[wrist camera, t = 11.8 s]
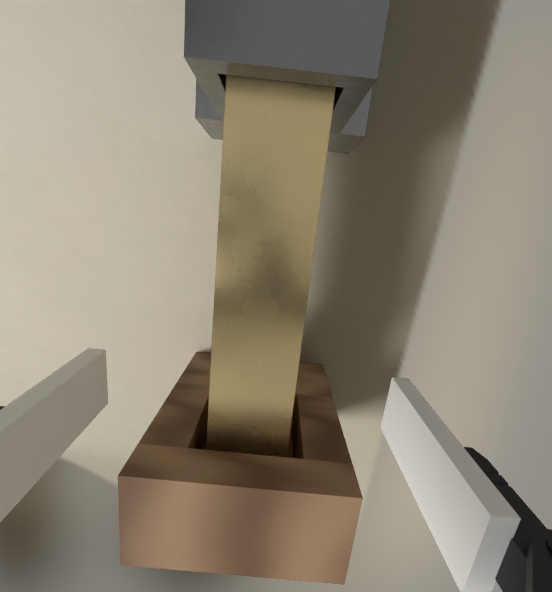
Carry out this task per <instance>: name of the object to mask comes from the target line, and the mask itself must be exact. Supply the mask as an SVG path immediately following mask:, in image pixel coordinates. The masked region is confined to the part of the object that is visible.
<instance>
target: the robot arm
mask: <svg viewBox="0 0 552 592" xmlns="http://www.w3.org/2000/svg"><path fill="white" fill-rule="evenodd" d="M107 404H108V390H107V369H106V350H101V349H91V348H88V349H87V350H85V351H84V352H82V353H81V354H80V355H78V356H77V357H75V358H74V359H72V360H71V361H70V362H68V363H67V364H65V365H64V366H62V367H61V368H60V369H58V370H57V371H55V372H54V373H53V374H51V375H50V376H48V377H47V378H45V379H44V380H43V381H41V382H40V383H38V384H37V385H35V386H34V387H33V388H31V389H30V390H28V391H27V392H25V393H24V394H23V395H21V396H20V397H18V398H17V399H15V400H14V401H13V402H11V403H10V404H8V405H7V406H5V407H4V406H0V522H1V521H2V520H3V519H4V517H5V516H6V515H7V514H8V513H9V512H10V511H11V510H12V509H13V508H14V507H15V505H16V504H17V503H18V502H19V501H20V500H21V499H22V498H23V496H24V495H25V494H26V493H27V492H28V491H29V490H30V489H31V488H32V487H33V485H34V484H35V483H36V482H37V481H38V480H39V479H40V478H41V477H42V476H43V474H44V473H45V472H46V471H47V470H48V469H49V468H50V467H51V465H52V464H53V463H54V462H55V461H56V460H57V459H58V458H59V457H60V456H61V455H62V453H63V452H64V451H65V450H66V449H67V448H68V447H69V446H70V445H71V443H72V442H73V441H74V440H75V439H76V438H77V437H78V436H79V435H80V433H81V432H82V431H83V430H84V429H85V428H86V427H87V426H88V425H89V424H90V422H91V421H92V420H93V419H94V418H95V417H96V416H97V415H98V414H99V412H100V411H101V410H102V409H103V408H104V407H105V406H106V405H107ZM381 430H382V432H383V434H384V436H385V438H386V440H387V442H388V444H389V446H390V448H391V450H392V452H393V454H394V456H395V458H396V460H397V463H398V465H399V466H400V468H401V471H402V473H403V475H404V477H405V479H406V481H407V483H408V485H409V487H410V489H411V491H412V493H413V495H414V497H415V499H416V502H417V504H418V505H419V507H420V510H421V511H422V513H423V516H424V518H425V520H426V522H427V524H428V526H429V528H430V530H431V532H432V534H433V536H434V538H435V540H436V543H437V545H438V547H439V549H440V551H441V553H442V555H443V557H444V559H445V561H446V563H447V565H448V567H449V569H450V571H451V573H452V575H453V578H454V580H455V581H456V584H457V586H458V587H459V590H460V592H491V591H492V589H493V586H494V584H495V581H497V583H498V584H499V586H500V588H501V589H502V591H503V592H552V530H549V529H547V528H546V527H545V526H544V525H543V524H542V523H541V521H540V520H539V519H538V518H537V517H536V515H535V514H534V513H533V512H532V511H531V510H530V508H528V506H527V505H526V504H525V503H524V502H523V500H522V499H521V498H520V497H519V496H518V495H517V494H516V492H515V491H514V490H513V489H512V488H511V487H509V486H508V483H507V482H506V481H505V479H504V478H503V477H502V476H501V475H499V473H498V471H497V470H496V469H495V468H494V467H493V466H492V464H491V463H490V462H489V461H488V460H487V459H486V458H485V457H483V456H482V455H481V454H479V453H478V452H477V451H475V450H474V449H473V448H469V447H463V446H462V445H461V444H460V442H459V441H458V440H457V439H456V437H455V436H454V435H453V434H452V432H451V431H450V430H449V429H448V427H447V426H446V425H445V424H444V422H443V421H442V420H441V419H440V418H439V416H438V415H437V414H436V412H435V411H434V410H433V409H432V407H430V405H429V404H428V403H427V401H426V400H425V399H424V398H423V396H422V395H421V394H420V393H419V391H418V390H417V389H416V388H415V386H414V385H413V384H412V383H411V382H410V380H409V379H406V378H396V377H392V379H391V384H390V388H389V393H388V397H387V402H386V406H385V410H384V415H383V419H382V424H381Z"/></svg>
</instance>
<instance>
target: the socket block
mask: <svg viewBox="0 0 552 592" xmlns="http://www.w3.org/2000/svg"><path fill="white" fill-rule="evenodd" d="M210 369H211V354H209V353H199V352H196V353H195V355H194V356H193V358H192V360H191V361H190V363H189V364H188V366H187V367H186V369H185V371H184V372H183V374H182V375H181V377H180V379H179V380H178V382H177V383H176V385H175V386H174V388H173V390H172V391H171V393H170V394H169V396H168V398H167V399H166V401H165V402H164V404H163V405H162V407H161V409H160V410H159V412H158V413H157V415H156V416H155V418H154V420H153V421H152V423H151V424H150V426H149V428H148V429H147V431H146V432H145V434H144V435H143V437H142V439H141V440H140V442H139V443H138V445H137V446H136V448H135V450H134V451H133V453H132V454H131V456H130V458H129V459H128V461H127V462H126V464H125V465H124V467H123V469H122V470H121V472H120V473H119V475H118V492H119V493H118V494H119V525H120V560H121V565H127V566H138V567H150V568H162V569H173V570H184V571H195V572H206V573H218V574H229V575H241V576H252V577H264V578H275V579H287V580H298V581H309V582H320V583H321V582H322V583H332V584H343V585H344V583H345V578H346V574H347V569H348V565H349V560H350V555H351V550H352V545H353V541H354V537H355V532H356V527H357V523H358V518H359V513H360V509H361V504H362V499H363V498H362V494H361V491H360V488H359V485H358V481H357V478H356V475H355V471H354V468H353V465H352V461H351V458H350V455H349V451H348V448H347V445H346V441H345V438H344V435H343V432H342V428H341V425H340V422H339V418H338V415H337V412H336V408H335V405H334V402H333V398H332V395H331V392H330V388H329V385H328V382H327V379H326V375H325V372H324V369H323V365H320V364H310V363H300V362H299V368H298V375H297V383H296V390H295V398H294V405H293V413H292V421H291V428H290V436H289V443H288V451H287V457H277V456H266V455H255V454H245V453H234V452H223V451H213V450H206V442H207V424H208V405H209V387H210Z"/></svg>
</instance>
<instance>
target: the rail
mask: <svg viewBox="0 0 552 592" xmlns="http://www.w3.org/2000/svg"><path fill="white" fill-rule="evenodd" d="M335 89H336V87H333V86H324V85H315V84H307V83H298V82H289V81H280V80H271V79H262V78H254V77H245V76H236V75H227V77H226V95H225V113H224V132H223V150H222V168H221V186H220V205H219V223H218V241H217V259H216V278H215V296H214V314H213V332H212V351H211V369H210V387H209V405H208V424H207V442H206V450H213V451H223V452H234V453H245V454H255V455H266V456H277V457H287V451H288V443H289V436H290V428H291V421H292V413H293V405H294V398H295V390H296V383H297V375H298V368H299V360H300V353H301V345H302V338H303V330H304V322H305V315H306V307H307V300H308V292H309V285H310V277H311V270H312V262H313V255H314V247H315V240H316V232H317V224H318V217H319V209H320V202H321V194H322V187H323V179H324V172H325V164H326V157H327V149H328V142H329V134H330V126H331V119H332V111H333V104H334V96H335Z"/></svg>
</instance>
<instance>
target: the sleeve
mask: <svg viewBox="0 0 552 592" xmlns="http://www.w3.org/2000/svg"><path fill="white" fill-rule="evenodd" d="M389 5H390V0H185V40H184V58H185V59H186V61H187V63H188V65H189V66H190V68H191V70H192V71H193V73H194V75H195V77H196V78H197V79H196V109H195V118H196V119H197V121H198V122H199V123H200V124H201V126H202V127H203V128H204V129H205V130H206V132H207V133H208V134H209V135H210V137H211V138H213V139H222V140H223V132H224V113H225V95H226V77H227V75H236V76H245V77H254V78H262V79H271V80H280V81H289V82H298V83H307V84H315V85H324V86H333V87H336V89H335V96H334V104H333V111H332V119H331V126H330V134H329V142H328V149H327V151H331V152H340V153H349V152H350V151H351V150H352V149H353V148H354V147H355V146H356V145H357V144H358V143H359V142H360V141H361V140H362V139H363V138H364V137H365V133H366V126H367V120H368V114H369V107H370V101H371V95H372V88H373V85H374V83H375V82H376V80H377V79H378V73H379V67H380V60H381V54H382V48H383V42H384V36H385V29H386V23H387V17H388V11H389Z"/></svg>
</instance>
